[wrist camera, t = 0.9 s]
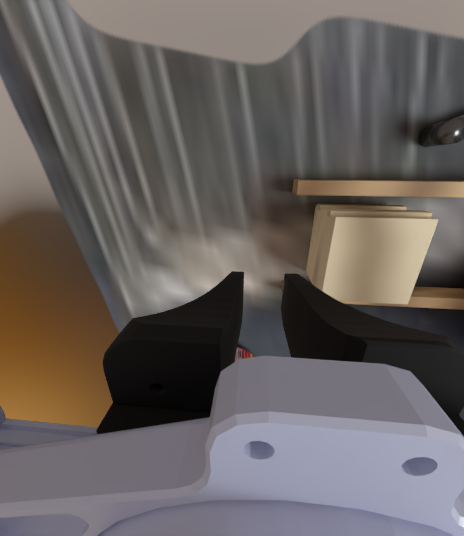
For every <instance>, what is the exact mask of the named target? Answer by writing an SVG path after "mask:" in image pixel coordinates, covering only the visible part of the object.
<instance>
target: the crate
mask: <svg viewBox="0 0 464 536" xmlns="http://www.w3.org/2000/svg"><path fill="white" fill-rule="evenodd" d="M406 208H407V207H406V206H402V205H359V204H317V206H316V207H315V214H314V221H313V228H312V234H311V241H310V248H309V255H308V261H307V268H306V273H307V275H308V277H309V279H310V281H311V283H312V284H313V285H314V286H315V287H317V288H318V289H320V290H321V291H323V292H324V293H326V294H328V295H329V296H331V297H333V298H334V299H336V300H338V301H346V302H367V303H387V304H407V305H408V302H409V300H410V297H411V294H412V291H413V289H414V286H415V283H416V280H417V278H418V275H419V272H420V270H421V267H422V264H423V261H424V259H425V256H426V253H427V250H428V248H429V245H430V242H431V240H432V237H433V234H434V231H435V229H436V226H437V223H438V220H439V219H436V218H432V217H431V216H432V213H431V212H427V211H410V210H406Z"/></svg>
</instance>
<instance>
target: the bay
mask: <svg viewBox="0 0 464 536" xmlns="http://www.w3.org/2000/svg"><path fill="white" fill-rule="evenodd" d="M292 193H294V194H296V195H331V196H401V197H464V181H421V180H310V179H294V182H293V192H292ZM310 283H311V282H310ZM311 284H312V283H311ZM283 286H284V281H283ZM283 286H282V292H283ZM340 302H341V303H344V304H360V305H380V306H400V307H420V308H440V309H460V310H464V288H441V287H418V286H414V289H413V291H412V294H411V297H410V300H409V302H408V305H407V304H387V303H367V302H346V301H340Z"/></svg>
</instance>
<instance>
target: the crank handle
mask: <svg viewBox="0 0 464 536" xmlns="http://www.w3.org/2000/svg"><path fill="white" fill-rule="evenodd" d="M462 139H464V115H462V116H459V117H456V118H453V119H451V120H447V121H443V122H439V123H435V124H431V125H428V126H426V127H425V128H424V129H423V130H422V131H421V132H420V135H419V143H420V145H422V146H424V147H429V146H437V145H444V144H452V143H457V142H459V141H461V140H462Z"/></svg>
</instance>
